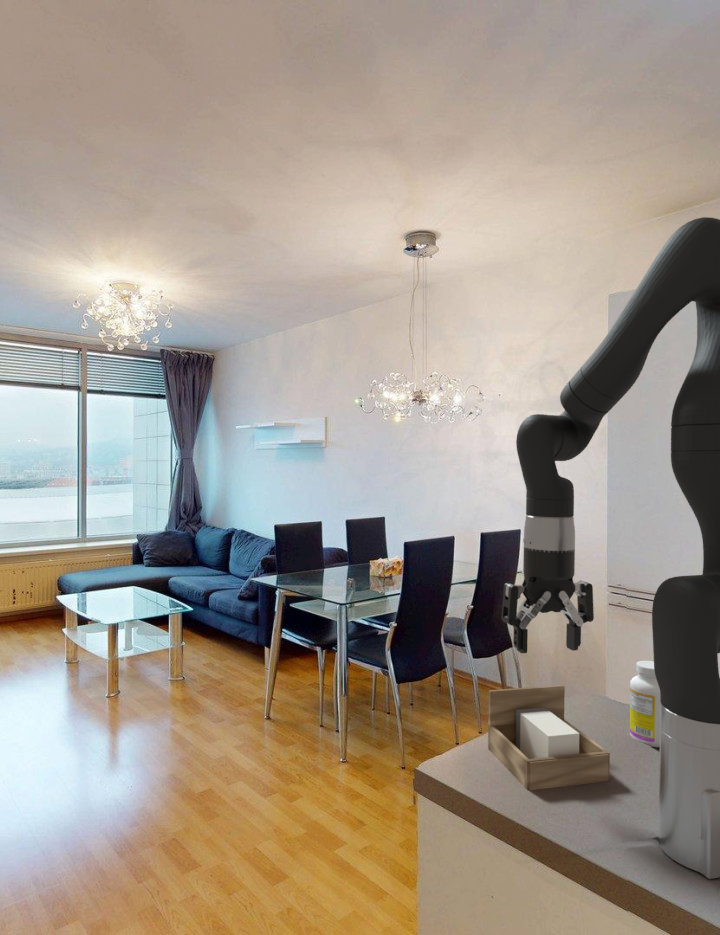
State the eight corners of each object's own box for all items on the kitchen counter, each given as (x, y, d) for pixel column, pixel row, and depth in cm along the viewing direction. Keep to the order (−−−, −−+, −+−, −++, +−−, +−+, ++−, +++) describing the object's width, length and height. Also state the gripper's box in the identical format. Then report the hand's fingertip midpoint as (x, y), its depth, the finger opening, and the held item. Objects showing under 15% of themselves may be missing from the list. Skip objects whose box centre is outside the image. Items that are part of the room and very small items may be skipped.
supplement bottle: (663, 733, 108) (664, 659, 108) (679, 750, 102) (680, 672, 102) (624, 730, 109) (624, 657, 109) (637, 748, 102) (638, 670, 102)
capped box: (578, 777, 91) (579, 733, 91) (547, 781, 90) (548, 736, 90) (543, 747, 101) (544, 707, 101) (515, 750, 100) (516, 709, 100)
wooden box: (610, 784, 90) (611, 716, 90) (527, 794, 87) (528, 723, 87) (561, 744, 103) (562, 684, 103) (488, 752, 100) (488, 690, 100)
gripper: (517, 549, 90) (516, 661, 90) (605, 547, 93) (603, 655, 93) (495, 542, 97) (493, 646, 97) (576, 541, 100) (575, 641, 101)
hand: (547, 650), depth 95 cm, fingers open, 8 cm apart
